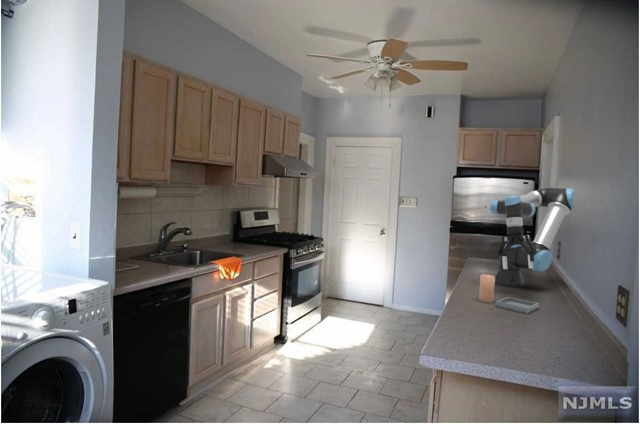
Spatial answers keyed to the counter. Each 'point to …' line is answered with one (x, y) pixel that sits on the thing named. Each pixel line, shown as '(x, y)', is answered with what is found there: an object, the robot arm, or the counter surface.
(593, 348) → the counter surface
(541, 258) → the robot arm
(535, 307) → the grey tray
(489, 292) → the light orange tall cylinder
